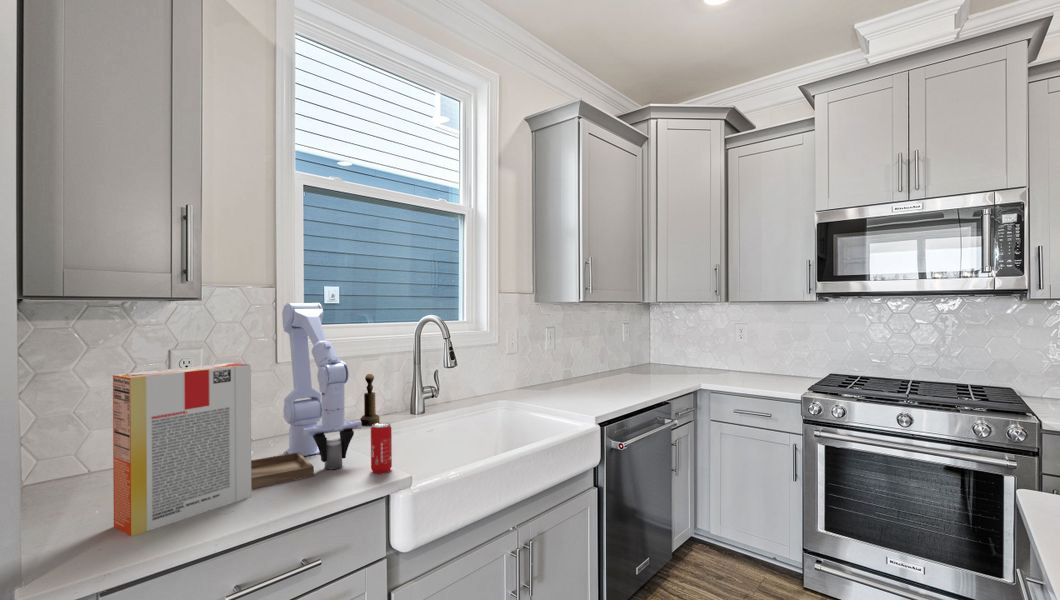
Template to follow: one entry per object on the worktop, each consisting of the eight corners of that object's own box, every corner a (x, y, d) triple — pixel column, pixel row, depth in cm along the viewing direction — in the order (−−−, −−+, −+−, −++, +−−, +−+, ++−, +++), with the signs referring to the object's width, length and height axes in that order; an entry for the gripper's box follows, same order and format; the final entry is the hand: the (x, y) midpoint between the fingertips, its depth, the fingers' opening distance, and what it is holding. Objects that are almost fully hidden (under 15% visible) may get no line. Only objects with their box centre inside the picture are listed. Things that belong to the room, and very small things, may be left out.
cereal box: (232, 490, 121) (231, 362, 121) (251, 496, 116) (250, 364, 116) (113, 526, 101) (112, 375, 101) (131, 536, 97) (130, 377, 97)
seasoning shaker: (322, 466, 137) (322, 440, 137) (339, 462, 140) (339, 437, 140) (327, 470, 133) (327, 443, 133) (344, 467, 136) (344, 440, 136)
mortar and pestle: (372, 420, 190) (371, 372, 191) (383, 422, 187) (382, 373, 187) (356, 424, 185) (356, 374, 185) (367, 426, 181) (367, 375, 181)
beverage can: (385, 475, 130) (385, 427, 130) (367, 473, 131) (366, 427, 131) (395, 468, 135) (394, 423, 135) (377, 467, 136) (376, 422, 136)
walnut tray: (233, 472, 133) (232, 463, 133) (298, 460, 142) (298, 452, 142) (242, 490, 120) (242, 480, 120) (313, 476, 130) (313, 466, 130)
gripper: (308, 414, 129) (308, 468, 129) (365, 407, 138) (365, 457, 138) (301, 410, 135) (301, 461, 135) (356, 403, 143) (356, 451, 143)
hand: (333, 459), depth 136 cm, fingers closed on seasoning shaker, 4 cm apart
